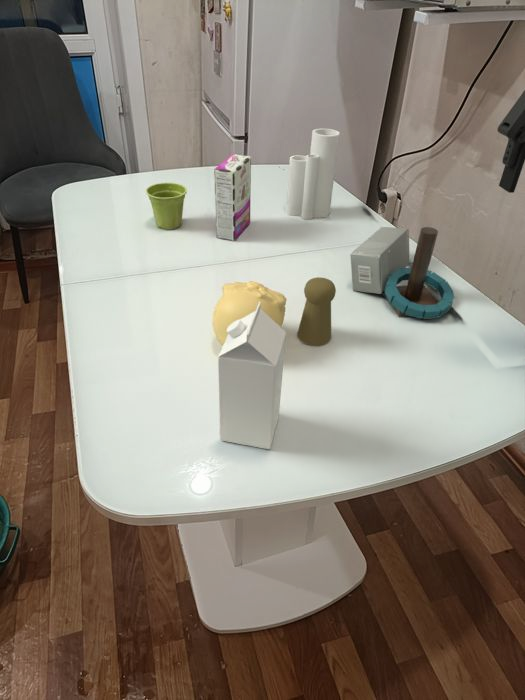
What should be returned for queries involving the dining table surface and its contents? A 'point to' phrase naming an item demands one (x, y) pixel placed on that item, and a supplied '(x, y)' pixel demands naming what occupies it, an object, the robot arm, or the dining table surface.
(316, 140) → the vase
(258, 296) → the sculpture
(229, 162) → the candy bar box
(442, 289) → the ring
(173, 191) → the plant pot
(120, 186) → the dining table surface
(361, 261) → the cosmetic box
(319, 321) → the brown pawn
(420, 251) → the post
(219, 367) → the milk carton
